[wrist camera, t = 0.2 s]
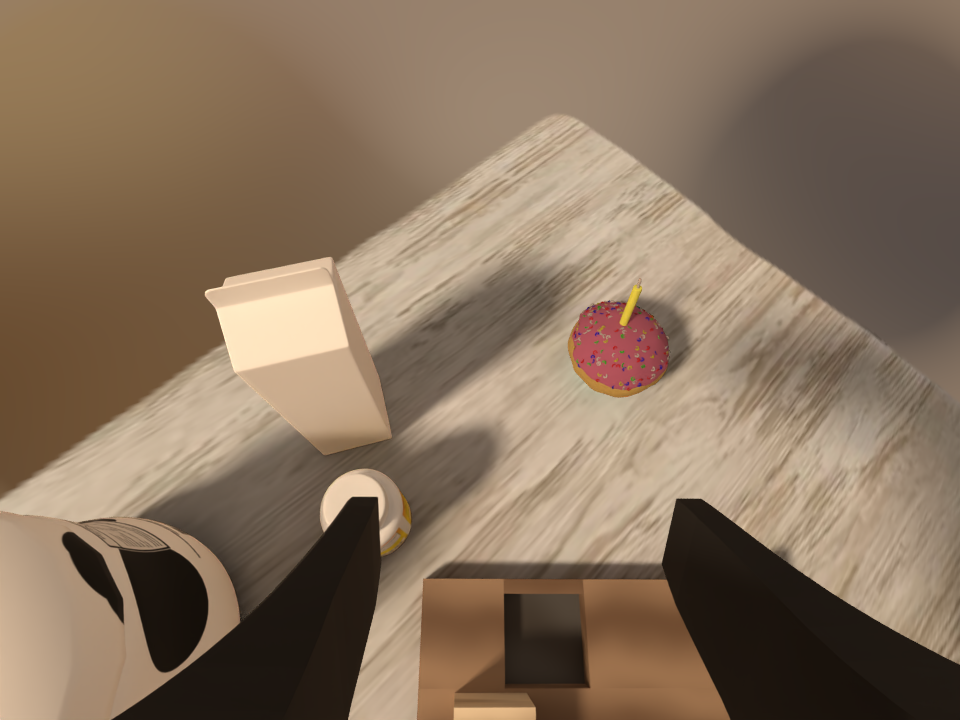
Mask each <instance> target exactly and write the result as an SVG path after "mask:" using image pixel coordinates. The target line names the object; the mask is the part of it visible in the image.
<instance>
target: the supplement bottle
mask: <svg viewBox="0 0 960 720" xmlns="http://www.w3.org/2000/svg"><path fill="white" fill-rule="evenodd" d="M351 497H378V505H379V527H380V549H381V557H382V556H386V555H388V554H391V553H392V552H394V551H395V550H397V549H398V548H399V547H400V546H401V545H402V544H403V543H404V541H405V540H406V538H407V536H408V534H409V532H410V529H411V523H412V515H411V510H410V506H409V504H408V502H407V500H406V499H405V497H404V496H403V494H402V493H401V492H400V490H399V489H398V487H397V486H396V484H395V483H394V482H393V481H392V480H391V479H390V478H389V477H388V476H386V475H385V474H383V473H381V472H379V471H377V470H373V469H356V470H352V471H349V472H347V473H345V474H343V475H341V476H340V477H339V478H337V479H336V480H335V481H334V482H333V483H332V484H331V485H330V486H329V488H328V489H327V491H326V493H325V494H324V497H323V499H322V502H321V506H320V522H321V526H322V529H323V531H324V532H325V531H326V529H327V528H328V527H329V525H330V524H331V523H332V522H333V520H334V519H335V517H336V516H337V515H338V513H339V512H340V511H341V509H342V508H343V506H344V505H345V504H346V502H347V501H348V500H349V499H350V498H351Z"/></svg>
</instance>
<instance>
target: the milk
mask: <svg viewBox="0 0 960 720" xmlns="http://www.w3.org/2000/svg"><path fill="white" fill-rule="evenodd" d="M205 296H206V298H207V299H208V300H209V301H210V302H211V303H212V304H213V306H214V307H215V308H216V311H217V314H218V318H219V321H220V324H221V328H222V331H223V335H224V338H225V342H226V345H227V349H228V352H229V356H230V359H231V362H232V366H233V369H234V371H235V373H236V374H237V375H239V376H240V377H241V378H242V379H243V380H244V381H245V382H246V383H247V384H248V385H249V386H250V387H251V388H252V389H254V390H255V391H256V392H257V393H258V394H259V395H260V396H261V397H262V398H263V399H264V400H265V401H266V402H267V403H268V404H270V405H271V406H272V407H273V408H274V409H275V410H276V411H277V412H278V413H279V414H280V415H281V416H282V417H283V418H285V419H286V420H287V421H288V422H289V423H290V424H291V425H292V426H293V427H294V428H295V429H296V430H297V431H298V432H300V433H301V434H302V435H303V436H304V437H305V438H306V439H307V440H308V441H309V442H310V443H311V444H312V445H313V446H315V447H316V448H317V449H318V450H319V451H320V452H321V453H322V454H323V455H328V454H332V453H336V452H340V451H344V450H348V449H352V448H356V447H360V446H364V445H367V444H371V443H375V442H379V441H383V440H387V439H391V438H392V434H391V429H390V425H389V420H388V415H387V411H386V406H385V401H384V397H383V392H382V387H381V383H380V378H379V375H378V373H377V370H376V368H375V365H374V363H373V360H372V357H371V355H370V352H369V350H368V347H367V345H366V342H365V340H364V337H363V335H362V332H361V330H360V327H359V324H358V322H357V319H356V317H355V314H354V312H353V309H352V307H351V304H350V302H349V299H348V296H347V294H346V291H345V289H344V286H343V284H342V281H341V279H340V276H339V274H338V271H337V269H336V266H335V263H334V261H333V258H332V257H327V258H322V259H317V260H312V261H308V262H303V263H298V264H293V265H288V266H283V267H278V268H273V269H269V270H263V271H258V272H253V273H248V274H243V275H238V276H233V277H229V278H226V279H225V281H224V284H223V287H219V288H215V289H210V290H207V291H206V292H205Z"/></svg>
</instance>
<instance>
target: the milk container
mask: <svg viewBox="0 0 960 720" xmlns="http://www.w3.org/2000/svg"><path fill="white" fill-rule="evenodd" d="M239 623H240V616H239V607H238V602H237V597H236V594H235V590H234V587H233V584H232V582H231V579H230V577H229V575H228V573H227V571H226V570H225V568H224V567H223V565H222V563H221V562H220V561H219V560H218V558H217V557H216V556H215V555H214V554H213V553H212V552H211V551H210V550H209V549H208V548H207V547H206V546H204V545H203V544H202V543H201V542H200V541H198V540H197V539H195V538H194V537H192V536H191V535H189V534H187V533H185V532H183V531H181V530H180V529H177V528H175V527H172V526H170V525H167V524H164V523H161V522H157V521H153V520H148V519H142V518H132V517H109V518H100V519H93V520H88V521H82V522H78V523H75V522H71V521H66V520H61V519H56V518H50V517H44V516H33V515H18V514H14V513H9V512H3V511H0V720H111V719H113V718H114V717H116V716H118V715H119V714H121V713H122V712H124V711H125V710H127V709H128V708H130V707H131V706H133V705H134V704H136V703H137V702H139V701H140V700H142V699H143V698H145V697H146V696H148V695H149V694H150V693H152V692H153V691H155V690H156V689H157V688H159V687H160V686H162V685H163V684H164V683H166V682H167V681H168V680H170V679H171V678H173V677H174V676H175V675H177V674H178V673H179V672H181V671H182V670H183V669H185V668H186V667H188V666H189V665H190V664H191V663H193V662H194V661H195V660H196V659H198V658H199V657H200V656H201V655H203V654H204V653H205V652H206V651H208V650H209V649H210V648H211V647H212V646H214V645H215V644H216V643H217V642H218V641H219V640H221V639H222V638H223V637H224V636H225V635H226V634H228V633H229V632H230V631H231V630H232V629H234V628H235V627H236V626H237V625H238V624H239Z"/></svg>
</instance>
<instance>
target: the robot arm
mask: <svg viewBox="0 0 960 720" xmlns="http://www.w3.org/2000/svg"><path fill="white" fill-rule="evenodd" d="M662 566H663V569H664V572H665V575H666V579H667V582H668V585H669V588H670V590H671V593H672V596H673V599H674V602H675V605H676V607H677V609H678V611H679V613H680V615H681V617H682V620H683V622H684V624H685V626H686V628H687V630H688V632H689V634H690V636H691V638H692V640H693V642H694V644H695V646H696V648H697V651H698V653H699V655H700V657H701V659H702V661H703V663H704V665H705V667H706V669H707V671H708V673H709V675H710V677H711V679H712V681H713V683H714V685H715V687H716V689H717V691H718V693H719V695H720V697H721V699H722V702H723V704H724V706H725V708H726V711H727V713H728V715H729V717H730V720H960V665H959V664H957V663H955V662H953V661H951V660H949V659H947V658H945V657H943V656H941V655H939V654H937V653H935V652H933V651H931V650H929V649H927V648H926V647H924V646H922V645H920V644H918V643H916V642H914V641H912V640H910V639H909V638H907V637H905V636H903V635H901V634H899V633H898V632H896V631H894V630H892V629H890V628H889V627H887V626H885V625H883V624H882V623H880V622H878V621H876V620H875V619H873V618H871V617H870V616H868V615H866V614H865V613H863V612H861V611H860V610H858V609H856V608H855V607H853V606H851V605H850V604H848V603H847V602H845V601H843V600H842V599H840V598H839V597H837V596H835V595H834V594H832V593H831V592H829V591H828V590H826V589H825V588H823V587H822V586H820V585H819V584H817V583H816V582H815V581H813V580H812V579H810V578H809V577H807V576H806V575H804V574H803V573H801V572H800V571H798V570H797V569H796V568H794V567H793V566H791V565H790V564H789V563H787V562H786V561H784V560H783V559H782V558H780V557H779V556H777V555H776V554H775V553H773V552H772V551H771V550H769V549H768V548H767V547H765V546H764V545H763V544H761V543H760V542H759V541H757V540H756V539H755V538H753V537H752V536H751V535H749V534H748V533H747V532H745V531H744V530H743V529H742V528H740V527H739V526H738V525H736V524H735V523H734V522H732V521H731V520H730V519H728V518H727V517H726V516H724V515H723V514H722V513H720V512H719V511H718V510H716V509H715V508H714V507H712V506H711V505H709V504H708V503H707V502H705V501H704V500H702V499H676V503H675V508H674V512H673V517H672V521H671V525H670V530H669V534H668V539H667V543H666V548H665V552H664V556H663V561H662ZM380 569H381V549H380V527H379V505H378V497H351V498H350V499H349V500H348V501H347V502H346V504H345V505H344V506H343V508H342V509H341V511H340V512H339V513H338V515H337V516H336V517H335V519H334V520H333V522H332V523H331V524H330V525H329V527H328V528H327V529H326V531H325V532H324V533H323V534H322V536H321V537H320V538H319V539H318V541H317V542H316V543H315V544H314V546H313V547H312V548H311V549H310V550H309V552H308V553H307V554H306V555H305V556H304V558H303V559H302V560H301V561H300V562H299V563H298V565H297V566H296V567H295V568H294V569H293V570H292V571H291V572H290V573H289V574H288V575H287V576H286V578H285V579H284V580H283V581H282V582H281V583H280V584H279V585H278V586H277V587H276V588H275V589H274V590H273V591H272V593H271V594H270V595H269V596H268V597H267V598H266V599H265V600H264V601H263V602H262V603H260V604H259V605H258V606H257V607H256V608H255V609H254V610H253V611H252V612H251V613H250V614H249V615H248V616H247V617H246V618H245V619H243V620H242V621H241V622H240V623H239V624H238V625H237V626H236V627H235V628H234V629H232V630H231V631H230V632H229V633H228V634H226V635H225V636H224V637H223V638H222V639H221V640H219V641H218V642H217V643H216V644H215V645H214V646H212V647H211V648H210V649H209V650H208V651H206V652H205V653H204V654H203V655H201V656H200V657H199V658H198V659H196V660H195V661H194V662H193V663H191V664H190V665H189V666H188V667H186V668H185V669H183V670H182V671H181V672H179V673H178V674H177V675H175V676H174V677H173V678H171V679H170V680H168V681H167V682H166V683H164V684H163V685H162V686H160V687H159V688H157V689H156V690H155V691H153V692H152V693H150V694H149V695H148V696H146V697H145V698H143V699H142V700H140V701H139V702H137V703H136V704H134V705H133V706H131V707H130V708H128V709H127V710H125V711H124V712H122V713H121V714H119V715H118V716H116V717H114V718H113V719H111V720H348V717H349V712H350V707H351V703H352V699H353V695H354V691H355V687H356V683H357V679H358V675H359V671H360V667H361V663H362V659H363V655H364V651H365V647H366V643H367V639H368V635H369V631H370V627H371V623H372V619H373V614H374V610H375V606H376V599H377V592H378V585H379V577H380Z"/></svg>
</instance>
